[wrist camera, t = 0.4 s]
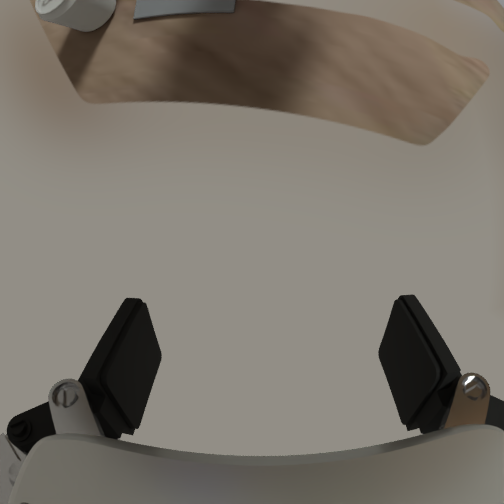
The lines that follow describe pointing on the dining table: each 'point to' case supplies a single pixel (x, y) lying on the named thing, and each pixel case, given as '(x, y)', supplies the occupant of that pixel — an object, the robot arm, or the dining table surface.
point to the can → (76, 12)
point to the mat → (181, 7)
